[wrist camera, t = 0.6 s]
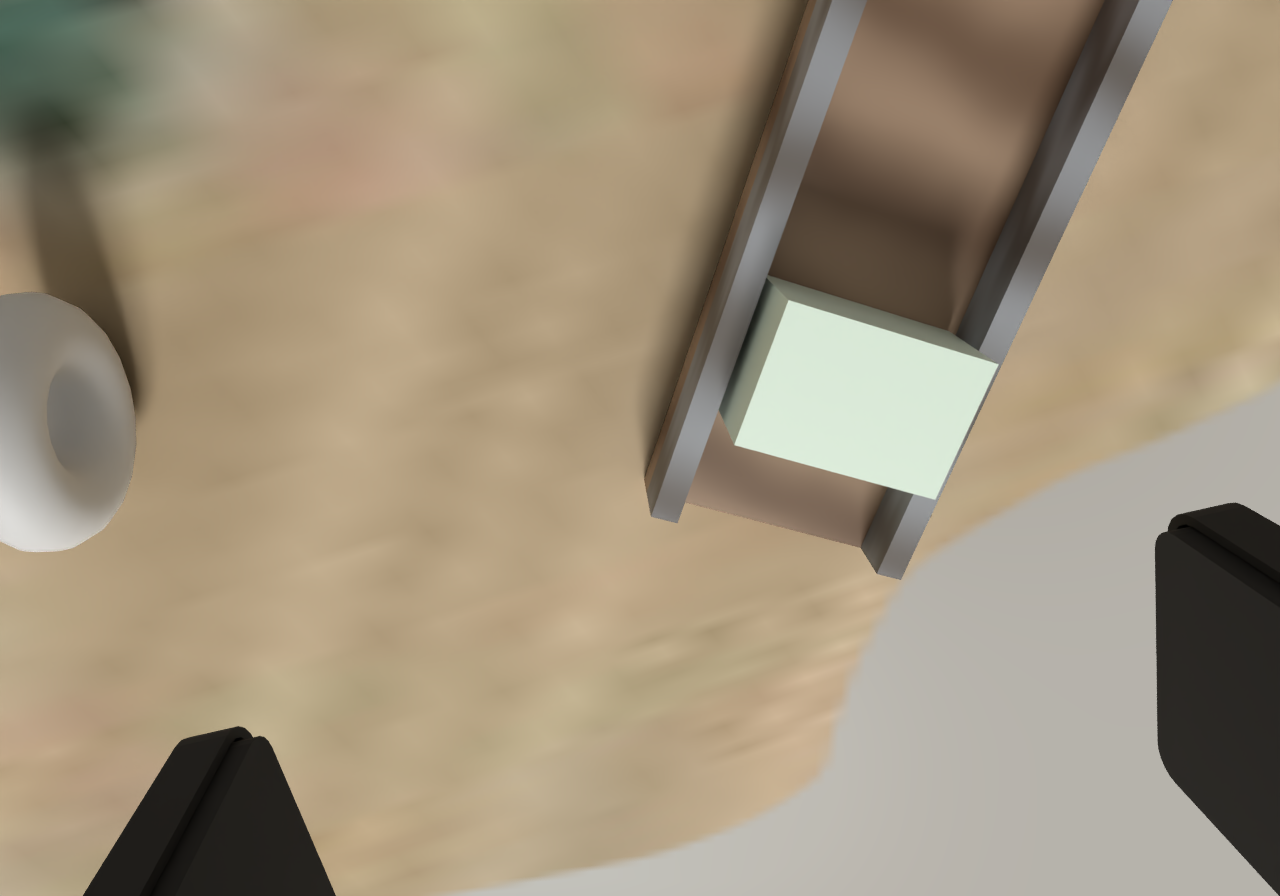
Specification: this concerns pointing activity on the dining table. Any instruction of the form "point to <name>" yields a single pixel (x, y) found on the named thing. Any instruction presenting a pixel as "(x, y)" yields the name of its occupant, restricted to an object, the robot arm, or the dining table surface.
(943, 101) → the track
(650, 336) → the dining table surface
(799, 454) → the sliding block
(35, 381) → the donut
